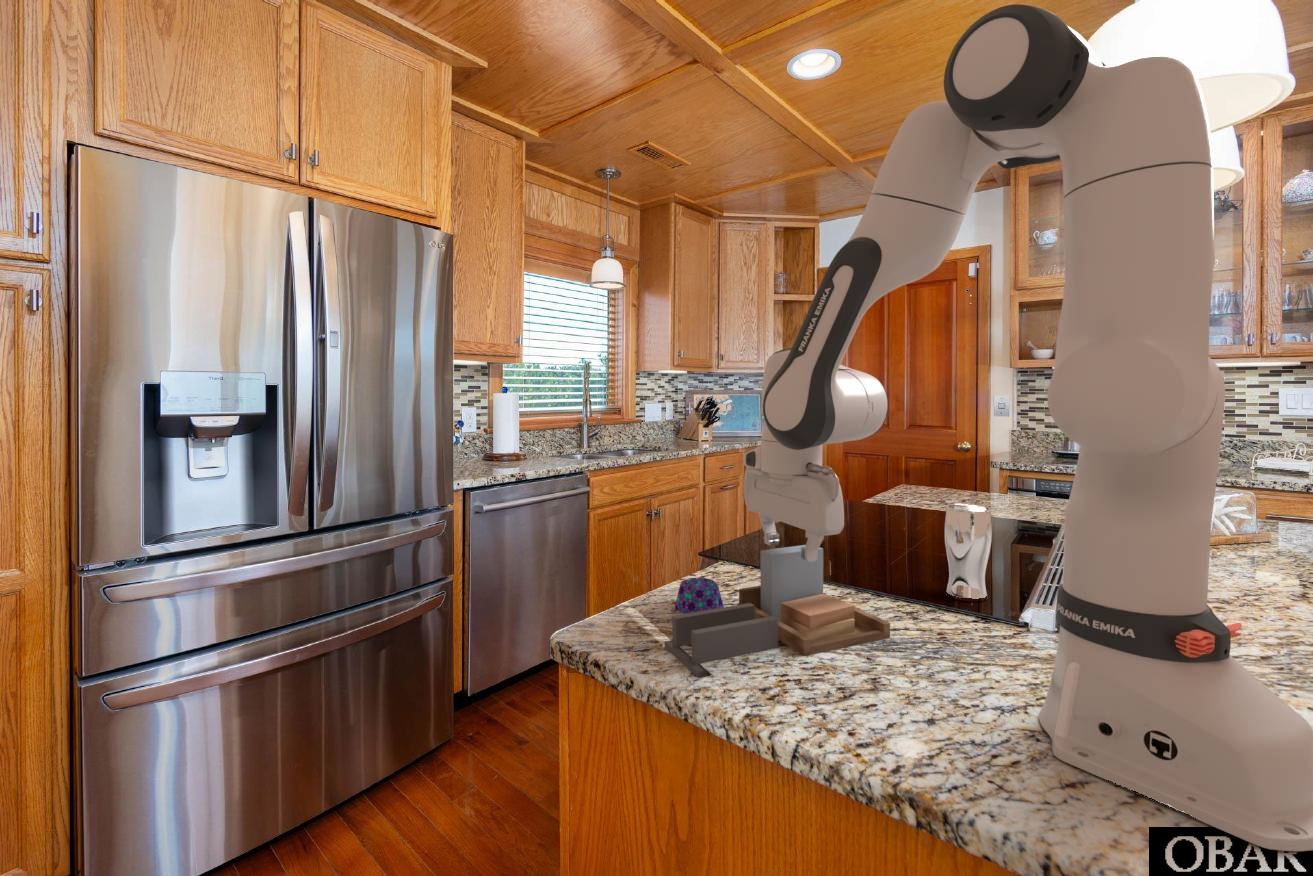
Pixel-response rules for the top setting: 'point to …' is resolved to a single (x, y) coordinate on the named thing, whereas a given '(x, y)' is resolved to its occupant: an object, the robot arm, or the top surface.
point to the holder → (720, 635)
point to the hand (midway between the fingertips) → (789, 552)
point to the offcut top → (817, 611)
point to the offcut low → (822, 629)
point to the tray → (865, 631)
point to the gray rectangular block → (788, 577)
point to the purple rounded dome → (698, 595)
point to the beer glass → (967, 549)
